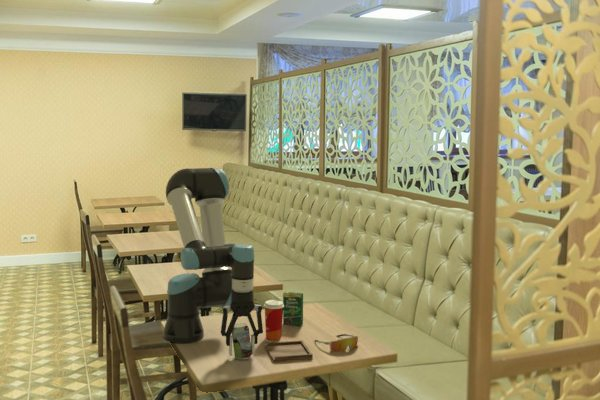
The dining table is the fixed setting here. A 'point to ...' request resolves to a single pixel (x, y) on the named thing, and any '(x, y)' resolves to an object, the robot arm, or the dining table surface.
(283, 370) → the dining table surface
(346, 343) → the sunglasses
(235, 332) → the beverage can
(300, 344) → the far tray
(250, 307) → the robot arm
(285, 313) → the coffee box
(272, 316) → the paper cup
